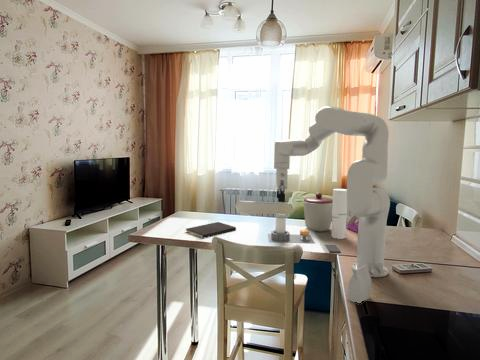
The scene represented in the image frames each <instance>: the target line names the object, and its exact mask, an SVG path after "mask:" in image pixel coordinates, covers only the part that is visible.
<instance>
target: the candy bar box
mask: <svg viewBox="0 0 480 360" xmlns="http://www.w3.org/2000/svg"><path fill="white" fill-rule="evenodd" d="M359 219H360V217H357V216H354V215H353V214H352V213H351V212H350V211H349V209H348V206H347V219H346V230H350V231H353V232H355V233H357V234H358V225H359Z"/></svg>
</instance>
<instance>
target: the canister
mask: <svg viewBox="0 0 480 360" xmlns="http://www.w3.org/2000/svg"><path fill="white" fill-rule="evenodd" d="M302 203H303V212H304V214H303V215H304V222H305V223H304V224H305V227H306V229H307V230H312V231H314V232H326V231H329V230H330V228H331V227H332V208H333V198H329V197H325V196H324V197H323V194H322V193H321V192H316V193H315V196H309V197H305V198H304V199H302Z"/></svg>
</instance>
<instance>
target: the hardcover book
mask: <svg viewBox="0 0 480 360" xmlns="http://www.w3.org/2000/svg"><path fill="white" fill-rule="evenodd" d="M236 230H237V227H236V226H233V225H230V224H226V223H223V222H220V221H217V222H210V223H208V224H207V223H205V224H202V225H197V226H192V227H188V228H187V227H186V228H185V231H188V232H190V233H189V234H191V233H193V234H195V235H194V236H196V235H198V236H197V237H199V236H201V237H206V238H209V237H208V236H210V237H213V235H214V236H217V234H218V235H222V233H223V234H225V233H231V232H233V231H236ZM188 232H187V233H188ZM193 234H192V235H193ZM201 237H200V238H201Z"/></svg>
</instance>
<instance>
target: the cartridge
mask: <svg viewBox="0 0 480 360" xmlns="http://www.w3.org/2000/svg"><path fill="white" fill-rule="evenodd" d="M286 218H287V214H285V213H276V214H275V229H274V230H275V233H276V234H285V231H287V230H286V228H287V227H286V225H287V223H286V221H287V219H286Z"/></svg>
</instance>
